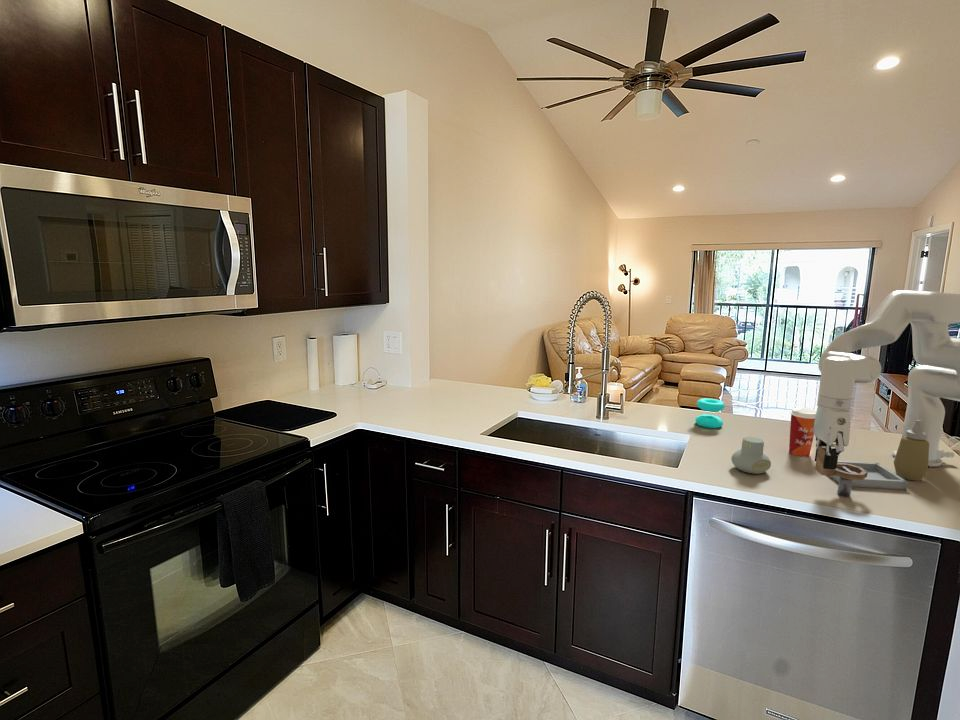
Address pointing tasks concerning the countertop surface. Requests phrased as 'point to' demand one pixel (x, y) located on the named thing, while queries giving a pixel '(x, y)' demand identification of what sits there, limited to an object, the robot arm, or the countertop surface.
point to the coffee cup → (801, 431)
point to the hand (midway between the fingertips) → (825, 464)
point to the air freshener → (751, 456)
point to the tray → (876, 477)
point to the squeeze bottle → (912, 454)
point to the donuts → (712, 406)
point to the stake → (845, 484)
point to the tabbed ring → (838, 467)
